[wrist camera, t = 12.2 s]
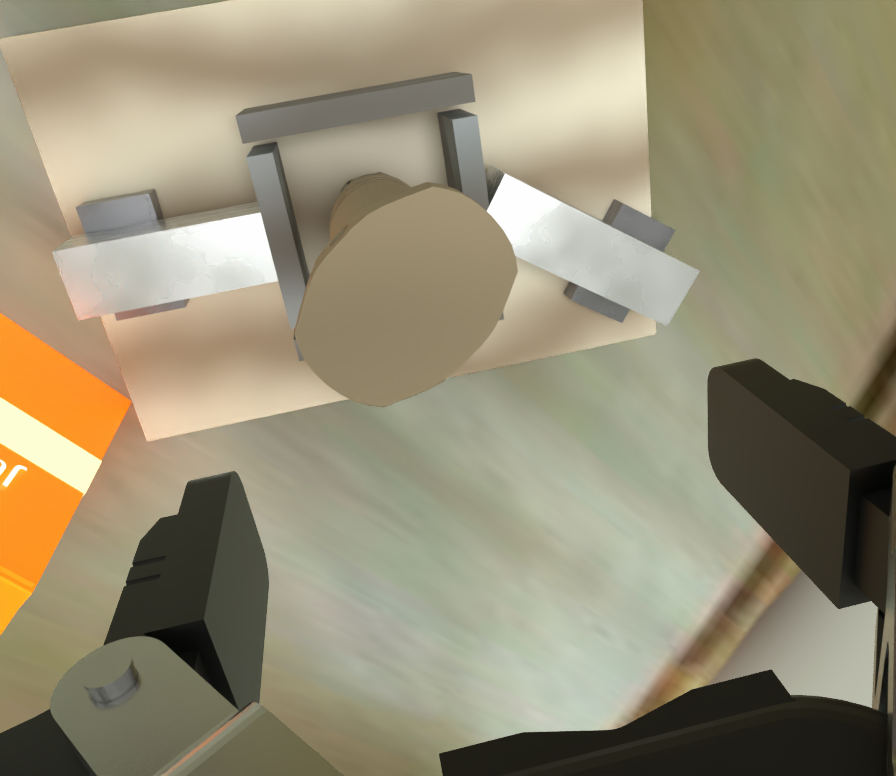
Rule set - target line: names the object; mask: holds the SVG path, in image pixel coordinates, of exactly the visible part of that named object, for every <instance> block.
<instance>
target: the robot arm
mask: <svg viewBox="0 0 896 776" xmlns="http://www.w3.org/2000/svg"><path fill="white" fill-rule="evenodd" d="M708 451H709V457H710V461H711V465H712V468H713V470H714V473H715V475H716V477H717V478H718V480H719V482H720V483H721V484H722V485H723V486H724V487H725V488H726V489H727V491H728V492H729V493H730V494H731V495H732V496H733V497H734V498H735V499H736V500H737V501H738V502H739V503H740V504H741V505H742V507H743V508H744V509H745V510H746V511H747V512H748V513H749V514H750V515H751V516H752V517H753V518H754V519H755V520H756V522H757V523H758V524H759V525H760V526H761V527H762V528H763V529H764V530H765V531H766V532H767V533H768V534H769V535H770V537H771V538H772V539H773V540H774V541H775V542H776V543H777V544H778V545H779V546H780V547H781V548H782V549H783V550H784V551H785V553H786V554H787V555H788V556H789V557H790V558H791V559H792V560H793V561H794V562H795V563H796V564H797V565H798V566H799V568H800V569H801V570H802V571H803V572H804V573H805V574H806V575H807V576H808V577H809V578H810V579H811V580H812V581H813V583H814V584H815V585H816V586H817V587H818V588H819V589H820V590H821V591H822V592H823V593H824V594H825V595H826V596H827V597H828V599H829V600H830V601H831V602H832V603H833V604H834V605H835V606H836V607H837V608H838V609H841V608H845V607H849V606H852V605H856V604H861V603H865V602H869V601H872V602H873V603H874V604H875V605H876V606H877V607H878V609H877V618H876V627H875V651H874V674H873V696H872V708H870V707H866V706H863V705H859V704H856V703H851V702H848V701H844V700H838V699H832V698H826V697H819V696H806V695H790V694H789V693H788V692H787V690H786V689H785V687H784V686H783V685H782V683H781V682H780V681H779V679H778V678H777V676H776V675H775V674H774V672H773V671H772V670H767V671H763V672H759V673H755V674H751V675H748V676H744V677H740V678H736V679H732V680H728V681H724V682H720V683H716V684H712V685H708V686H704V687H700V688H696V689H692V690H690V691H688V692H687V693H685V694H683V695H681V696H679V697H677V698H675V699H674V700H672V701H670V702H668V703H666V704H664V705H662V706H661V707H659V708H657V709H655V710H653V711H651V712H649V713H647V714H646V715H644V716H642V717H640V718H638V719H636V720H634V721H633V722H631V723H629V724H627V725H625V726H623V727H621V728H618V729H614V730H598V731H560V732H523V733H519V734H515V735H511V736H507V737H503V738H499V739H495V740H491V741H487V742H483V743H479V744H475V745H472V746H468V747H464V748H460V749H456V750H452V751H448V752H444V753H440V754H439V756H440V762H441V767H442V773H443V776H896V437H895V436H894V435H892V434H891V433H889V432H888V431H886V430H885V429H883V428H882V427H880V426H879V425H877V424H876V423H874V422H873V421H871V420H870V419H865V418H864V415H863V414H861V413H860V412H858V411H857V410H855V409H854V408H852V407H851V406H849V407H847V406H846V403H845V402H843V401H842V400H840V399H839V398H837V397H836V396H834V395H833V394H831V393H830V392H828V391H827V390H825V389H823V388H820V387H817V386H814V385H811V384H808V383H805V382H802V381H799V380H796V379H792V380H789V379H788V378H786V377H785V376H783V375H782V374H780V373H779V372H778V371H776V370H775V369H773V368H772V367H770V366H769V365H768V364H766V363H765V362H763V361H762V360H760V359H757V358H756V359H750V360H746V361H741V362H736V363H732V364H727V365H723V366H718V367H714V368H712V369H711V371H710V373H709V376H708ZM132 564H133V567H131V568H130V571H129V574H128V577H127V580H126V586H124V588H123V591H122V594H121V597H120V600H119V602H118V605H117V608H116V611H115V614H114V617H113V620H112V622H111V625H110V628H109V631H108V634H107V637H106V640H105V642H104V645H103V646H102V647H100V648H98V649H96V650H95V651H93V652H91V653H89V654H88V655H86V656H85V657H84V658H82V659H81V660H79V661H78V662H77V663H76V664H75V665H74V666H72V667H71V668H70V669H69V670H68V671H67V672H66V673H65V675H64V676H63V677H62V678H61V680H60V681H59V682H58V684H57V686H56V687H55V689H54V691H53V694H52V697H51V701H50V709H49V710H47V711H45V712H44V713H42V714H40V715H38V716H36V717H34V718H32V719H30V720H28V721H26V722H23V723H21V724H19V725H17V726H15V727H13V728H11V729H9V730H6V731H4V732H2V733H0V776H344V775H343V774H341V773H340V772H339V771H338V770H337V769H336V768H334V767H333V766H332V765H331V764H330V763H329V762H327V761H326V760H325V759H324V758H323V757H322V756H321V755H319V754H318V753H317V752H316V751H315V750H314V749H312V748H311V747H310V746H309V745H308V744H307V743H305V742H304V741H303V740H302V739H301V738H300V737H298V736H297V735H296V734H295V733H294V732H293V731H291V730H290V729H289V728H288V727H287V726H286V725H285V724H283V723H282V722H281V721H280V720H279V719H278V718H276V717H275V716H274V715H273V714H272V713H271V712H269V711H268V710H267V709H266V708H264V707H263V706H262V705H260V704H259V699H260V687H261V675H262V662H263V650H264V638H265V626H266V614H267V602H268V590H269V578H268V568H267V562H266V557H265V553H264V549H263V546H262V543H261V540H260V537H259V534H258V531H257V528H256V524H255V521H254V518H253V515H252V512H251V509H250V506H249V503H248V500H247V497H246V494H245V491H244V488H243V485H242V482H241V480H240V477H239V475H238V474H237V473H236V472H235V471H233V472H228V473H223V474H219V475H214V476H210V477H205V478H200V479H196V480H191V481H189V482H188V483H187V485H186V488H185V492H184V495H183V499H182V502H181V506H180V509H179V513H178V514H177V515H173V516H168V517H164V518H160V519H159V520H158V521H157V523H156V524H155V525H154V526H153V527H152V528H151V529H150V530H149V531H148V533H147V534H146V535H145V536H144V537H143V538H142V539H141V540H140V543H139V545H138V548H137V551H136V554H135V557H134V560H133V563H132Z"/></svg>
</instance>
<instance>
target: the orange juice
mask: <svg viewBox="0 0 896 776" xmlns="http://www.w3.org/2000/svg"><path fill="white" fill-rule="evenodd" d="M130 404H131V401H130V400H128V399H127V398H125V397H124V396H122V395H121V394H119V393H118V392H116V391H115V390H113V389H112V388H110V387H109V386H107V385H106V384H104V383H103V382H102V381H100V380H99V379H97V378H96V377H94V376H93V375H91V374H90V373H88V372H87V371H85V370H84V369H82V368H81V367H79V366H78V365H76V364H75V363H73V362H72V361H70V360H69V359H67V358H66V357H64V356H63V355H62V354H60V353H59V352H57V351H56V350H54V349H53V348H51V347H50V346H48V345H47V344H45V343H44V342H42V341H41V340H39V339H38V338H36V337H35V336H33V335H32V334H30V333H29V332H27V331H26V330H24V329H23V328H21V327H20V326H18V325H17V324H15V323H14V322H13V321H11V320H10V319H8V318H7V317H5V316H4V315H2V314H1V313H0V635H1V634H2V632H3V631H4V629H5V628H6V626H7V625H8V623H9V622H10V620H11V619H12V617H13V616H14V614H15V613H16V611H17V610H18V609H19V607H20V606H21V605H22V604H23V603H24V602H25V601H26V599H27V598H28V597H29V596H30V595H31V594H32V593H33V591H34V589H35V587H36V585H37V583H38V581H39V579H40V577H41V575H42V573H43V571H44V570H45V568H46V566H47V564H48V562H49V560H50V558H51V556H52V554H53V552H54V550H55V548H56V546H57V544H58V543H59V541H60V539H61V537H62V535H63V533H64V531H65V529H66V527H67V525H68V523H69V521H70V519H71V517H72V515H73V514H74V512H75V510H76V508H77V506H78V504H79V502H80V500H81V498H82V497H83V496H84V494H85V493H86V491H87V489H88V488H89V486H90V484H91V482H92V480H93V478H94V476H95V474H96V472H97V470H98V468H99V466H100V464H101V462H102V461H101V460H102V458H103V456H104V454H105V452H106V450H107V448H108V446H109V444H110V442H111V440H112V438H113V436H114V434H115V433H116V431H117V429H118V427H119V425H120V423H121V421H122V419H123V417H124V415H125V413H126V411H127V409H128V407H129V406H130Z"/></svg>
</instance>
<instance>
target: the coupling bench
mask: <svg viewBox="0 0 896 776" xmlns="http://www.w3.org/2000/svg"><path fill="white" fill-rule="evenodd" d="M0 48H1V51H2V54H3V56H4V59H5V62H6V64H7V67H8V70H9V72H10V75H11V78H12V80H13V83H14V86H15V88H16V91H17V94H18V97H19V99H20V102H21V105H22V107H23V110H24V113H25V115H26V118H27V121H28V123H29V126H30V129H31V131H32V134H33V137H34V139H35V142H36V145H37V148H38V150H39V153H40V156H41V158H42V161H43V164H44V166H45V169H46V172H47V174H48V177H49V180H50V182H51V185H52V188H53V190H54V193H55V196H56V199H57V201H58V204H59V207H60V209H61V212H62V215H63V217H64V220H65V223H66V225H67V228H68V231H69V233H70V236H71V237H72V236H75V235H80V234H85V232H84V229H83V227H82V224H81V221H80V218H79V216H78V213H77V210H76V207H77V206H78V205H80V204H81V203H83V202H86V201H92V200H97V199H103V198H108V197H114V196H119V195H124V194H130V193H135V192H141V191H146V190H152V189H155V191H156V194H157V197H158V201H159V204H160V207H161V210H162V213H163V216H164V219H166V218H171V217H176V216H182V215H187V214H192V213H198V212H203V211H208V210H214V209H219V208H224V207H230V206H235V205H240V204H246V203H251V202H256V201H258V205H259V209H260V213H261V216H262V220H263V224H264V228H265V232H266V236H267V239H268V243H269V247H270V251H271V255H272V259H273V262H274V266H275V270H276V274H277V278H278V281H275V282H270V283H265V284H260V285H255V286H250V287H245V288H240V289H235V290H229V291H224V292H219V293H214V294H209V295H204V296H199V297H194V298H189V299H190V300H189V302H188V304H187V306H186V307H185V308H180V309H175V310H170V311H165V312H160V313H155V314H150V315H145V316H140V317H134V318H129V319H124V320H119V321H117V320H116V317H115V315H114V313H112V314H107V315H102V316H100V317H101V319H102V322H103V325H104V327H105V330H106V333H107V335H108V338H109V341H110V343H111V346H112V349H113V351H114V354H115V357H116V360H117V362H118V365H119V368H120V370H121V373H122V376H123V378H124V381H125V384H126V386H127V389H128V392H129V394H130V397H131V400H132V402H133V405H134V408H135V411H136V413H137V416H138V419H139V421H140V424H141V427H142V429H143V432H144V435H145V437H146V440H147V441H152V440H157V439H161V438H166V437H171V436H176V435H180V434H185V433H190V432H195V431H199V430H204V429H209V428H214V427H218V426H223V425H228V424H233V423H237V422H242V421H247V420H252V419H256V418H261V417H266V416H271V415H275V414H280V413H285V412H290V411H294V410H299V409H304V408H309V407H313V406H318V405H323V404H328V403H332V402H337V401H342V400H347V399H348V398H346V397H344V396H342V395H341V394H339V393H338V392H336V391H335V390H333V389H332V388H330V387H329V386H327V385H326V384H325V383H324V382H323V381H322V380H321V379H320V378H319V377H318V376H317V375H316V374H315V373H314V372H313V371H312V370H311V368H310V367H309V366H308V364H307V363H306V362H305V360H304V358H303V356H302V354H301V352H300V350H299V348H298V344H297V341H296V338H295V326H296V322H297V318H298V314H299V310H300V307H301V303H302V299H303V296H304V293H305V289H306V286H307V283H308V280H309V277H310V274H311V272H312V269H313V266H314V264H315V261H316V259H317V258H318V257H319V255H320V254H321V252H322V251H323V250H324V249H325V247H326V246H327V245H328V244H329V243H330V218H331V213H332V210H333V207H334V204H335V201H336V199H337V198H338V196H339V194H340V193H341V189H342V187H343V186H344V185H345V183H346V182H348V181H349V180H351V179H354V180H355V179H356V178H359V177H361V176H364V175H367V174H376V173H378V172H382V173H385V174H388V175H390V176H393V177H395V178H398V179H399V180H401V181H403V182H405V183H406V184H408V185H409V186H410V187H414V186H417V185H420V184H423V183H426V182H431V183H437V184H442V185H445V186H448V187H451V188H454V189H457V190H459V191H460V192H462V193H464V194H465V195H467V196H468V197H470V198H472V199H473V200H474V201H475V202H476V203H478V204H479V205H480V206H481V207H482V208H483V209H485V210H486V211H487V210H488V208H489V200H488V192H487V185H486V177H485V175H486V173H487V170H488V168H489V166H490V165H492V166H494V167H496V168H498V169H500V170H502V171H504V172H506V173H508V174H510V175H512V176H514V177H516V178H518V179H520V180H522V181H524V182H526V183H528V184H530V185H532V186H534V187H536V188H538V189H540V190H542V191H544V192H546V193H548V194H550V195H552V196H554V197H556V198H558V199H560V200H562V201H564V202H566V203H568V204H570V205H572V206H574V207H576V208H578V209H580V210H582V211H584V212H586V213H588V214H590V215H592V216H594V217H596V218H598V219H600V220H603V218H604V217H605V215H606V213H607V211H608V209H609V207H610V205H611V204H612V202H613V200H614V199H615V200H617V201H619V202H621V203H623V204H625V205H627V206H629V207H631V208H633V209H635V210H637V211H639V212H641V213H643V214H645V215H647V216H649V217H651V198H650V174H649V149H648V125H647V100H646V76H645V51H644V27H643V2H642V0H231V1H224V2H218V3H212V4H206V5H200V6H194V7H188V8H182V9H176V10H170V11H164V12H158V13H152V14H146V15H140V16H133V17H127V18H121V19H115V20H109V21H103V22H97V23H91V24H85V25H79V26H73V27H67V28H61V29H55V30H49V31H43V32H36V33H30V34H24V35H18V36H12V37H6V38H0ZM489 211H490V210H489ZM489 211H488V212H489ZM515 257H516V256H515ZM516 263H517V269H518V273H517V275H516V278H515V281H514V283H513V286H512V289H511V292H510V294H509V297H508V300H507V302H506V305H505V307H504V310H503V312H502V315H501V317H500V319H499V321H498V323H497V325H496V327H495V328H494V330H493V332H492V333H491V335H490V336H489V337H488V338H487V340H486V341H485V342H484V343H483V344H482V346H481V347H480V348H479V349H478V350H477V351H476V352H475V353H474V354H473V355H472V356H471V357H470V358H469V359H468V360H467V361H466V362H465V363H464V364H463V365H462V366H461V367H460V368H459V369H458V370H457V371H455V372H454V373H453V374H452V375H451V376H449V377H448V378H451V377H456V376H460V375H465V374H470V373H475V372H479V371H484V370H489V369H494V368H498V367H503V366H508V365H513V364H517V363H522V362H527V361H532V360H536V359H541V358H546V357H551V356H555V355H560V354H565V353H570V352H574V351H579V350H584V349H588V348H593V347H598V346H603V345H607V344H612V343H617V342H622V341H626V340H631V339H636V338H641V337H645V336H650V335H655V334H656V321H655V320H652V319H650V318H648V317H646V316H644V315H642V314H639V313H637V312H635V311H633V310H631V309H630V310H629V312H628V314H627V316H626V317H625V319H624V321H623V323H620V322H618V321H616V320H613V319H611V318H609V317H607V316H605V315H602V314H600V313H598V312H596V311H594V310H591V309H589V308H587V307H585V306H583V305H580V304H578V303H576V302H574V301H572V300H570V299H569V298H568V297H567V296H566V295H565V294H564V291H565V289H566V287H567V285H568V283H569V281H568V280H566V279H564V278H562V277H559V276H557V275H555V274H553V273H551V272H549V271H546V270H544V269H542V268H540V267H538V266H536V265H533V264H531V263H529V262H527V261H525V260H523V259H520V258H518V257H516Z"/></svg>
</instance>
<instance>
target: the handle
mask: <svg viewBox="0 0 896 776" xmlns="http://www.w3.org/2000/svg"><path fill="white" fill-rule="evenodd" d="M517 273H518V269H517V263H516V257H515V254H514V251H513V247H512V244H511V243H510V241H509V239H508V237H507V236H506V234H505V232H504V230H503V229H502V228H501V226H500V225H499V224H498V223H497V222H496V220H495V219H494V218H493V217H492V216H491V215H490V214H489V213H488V212H487V211H486V210H485V209H483V208H482V207H481V206H480V205H479V204H478V203H476V202H475V201H474V200H473V199H472V198H470V197H468V196H467V195H465V194H464V193H462V192H460V191H459V190H457V189H454V188H451V187H448V186H445V185H442V184H437V183H431V182H426V183H423V184H420V185H417V186H414V187H410V186H409V185H408V184H406V183H405V182H403V181H401V180H399V179H398V178H395V177H393V176H390V175H388V174H385V173H382V172H378V173H376V174H367V175H364V176H361V177H359V178H356V179H355V180H354V179H351V180H349V181H348V182H346V183H345V185H344V186H343V187H342V189H341V193H340V194H339V196H338V198H337V199H336V201H335V204H334V207H333V210H332V213H331V218H330V243H329V244H328V245H327V246H326V247H325V249H324V250H323V251H322V252H321V254H320V255H319V257H318V258H317V259H316V261H315V264H314V266H313V269H312V272H311V274H310V277H309V280H308V283H307V286H306V289H305V293H304V296H303V299H302V303H301V307H300V310H299V314H298V318H297V322H296V326H295V338H296V341H297V344H298V348H299V350H300V352H301V354H302V356H303V358H304V360H305V362H306V363H307V364H308V366H309V367H310V368H311V370H312V371H313V372H314V373H315V374H316V375H317V376H318V377H319V378H320V379H321V380H322V381H323V382H324V383H325V384H326V385H327V386H329V387H330V388H332V389H333V390H335V391H336V392H338V393H339V394H341V395H342V396H344V397H346V398H348V399H351V400H353V401H355V402H357V403H361V404H365V405H370V406H377V407H385V406H388V405H391V404H393V403H396V402H399V401H401V400H404V399H407V398H409V397H412V396H414V395H417V394H419V393H422V392H424V391H426V390H429V389H431V388H432V387H434V386H436V385H438V384H440V383H442V382H443V381H445V380H446V379H447V378H448V377H449V376H451V375H452V374H453V373H454V372H455V371H457V370H458V369H459V368H460V367H461V366H462V365H463V364H464V363H465V362H466V361H467V360H468V359H469V358H470V357H471V356H472V355H473V354H474V353H475V352H476V351H477V350H478V349H479V348H480V347H481V346H482V344H483V343H484V342H485V341H486V340H487V338H488V337H489V336H490V335H491V333H492V332H493V330H494V328H495V327H496V325H497V323H498V321H499V319H500V317H501V315H502V312H503V310H504V307H505V305H506V302H507V300H508V297H509V294H510V292H511V289H512V286H513V283H514V281H515V278H516V275H517Z"/></svg>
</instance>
